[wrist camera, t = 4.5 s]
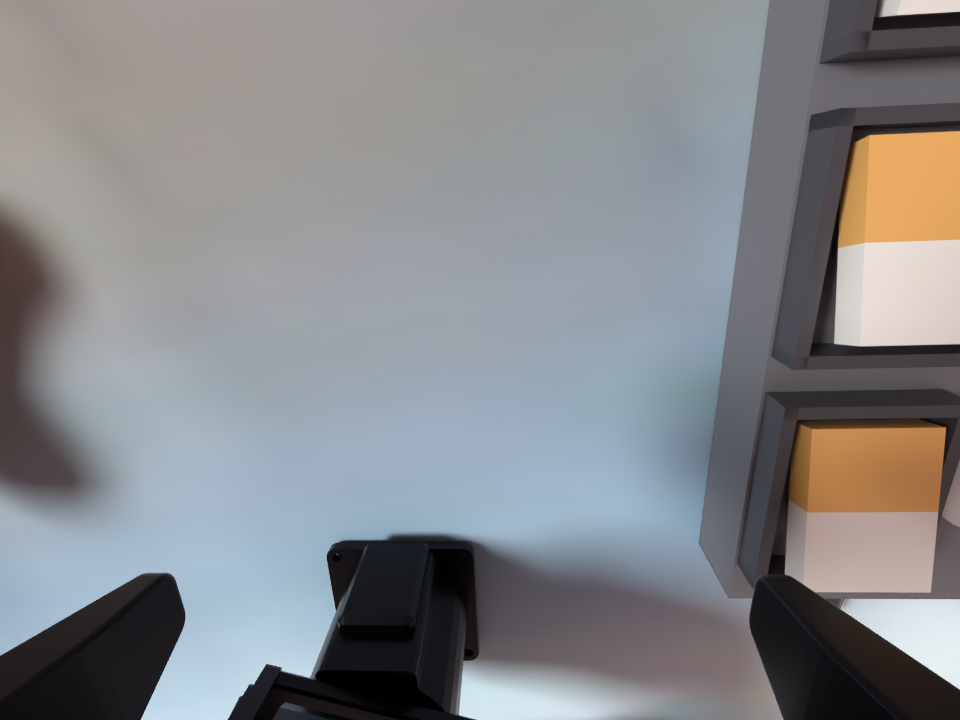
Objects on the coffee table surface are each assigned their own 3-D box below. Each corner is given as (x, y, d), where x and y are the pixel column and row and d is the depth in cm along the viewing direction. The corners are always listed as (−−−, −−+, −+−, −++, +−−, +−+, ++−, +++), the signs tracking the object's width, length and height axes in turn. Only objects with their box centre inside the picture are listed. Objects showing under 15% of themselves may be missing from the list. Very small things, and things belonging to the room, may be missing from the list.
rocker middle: (965, 339, 14) (1017, 342, 12) (824, 343, 14) (859, 346, 13) (978, 146, 13) (1033, 127, 12) (832, 153, 14) (869, 135, 12)
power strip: (922, 598, 22) (1015, 690, 18) (691, 597, 22) (732, 686, 18) (1224, -318, 12) (1566, -557, 8) (806, -280, 13) (941, -487, 9)
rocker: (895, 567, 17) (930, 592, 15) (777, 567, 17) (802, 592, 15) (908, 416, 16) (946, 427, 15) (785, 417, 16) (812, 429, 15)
